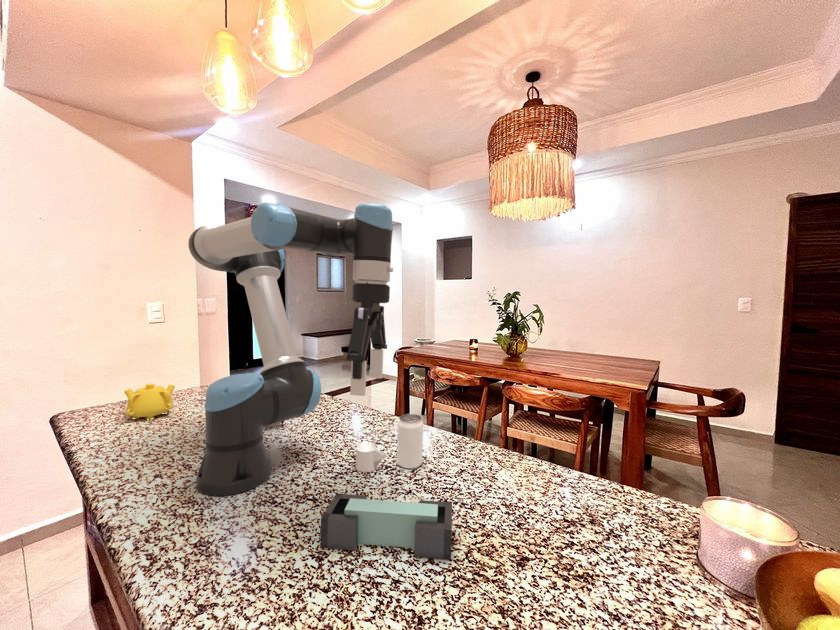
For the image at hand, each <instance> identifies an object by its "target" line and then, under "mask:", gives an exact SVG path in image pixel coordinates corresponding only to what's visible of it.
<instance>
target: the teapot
mask: <svg viewBox="0 0 840 630" xmlns="http://www.w3.org/2000/svg"><path fill="white" fill-rule="evenodd" d="M155 384H156V383H146V384H145V386H144V387H141V388H140V387H139V388H137V389H136V390H135V391H133V389H132V388H128V389H126V390H124V395H125V396H126V397H127V405H126V411H125V412H126V415H127V416H132V418H138V417H140V418H145V420H146V419H151V418H154V419H155V416H158V415H159V416H160V414H162V413H166V412H167V413H168V412H169V410H171V409H172V408H173V405H174V403H173V402H174V400H173V398H172V394H173V392H174V390H175V388H176V386H175V385H174V384H168V386H167V388H165V387H164V386H161V385H155ZM138 419H139V418H138Z"/></svg>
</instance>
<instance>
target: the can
mask: <svg viewBox="0 0 840 630" xmlns="http://www.w3.org/2000/svg"><path fill="white" fill-rule="evenodd" d="M422 419H423V418H422V416H420V415H419V414H413V413H406V414H402V415H400V416H399V420H398V423H397V442H396V443H397V444H396V445H397V448H396V450H397V451H396V453H397V454H396V455H397V457H396V459H397V461H396V464H397V465H398V466H399V467H400V468H402V469H408V470H412V469H413V470H414V469H417V468H419V467H421V465H422V464H423V445H424V444H423V441H424V438H423V436H424V423H423V420H422Z"/></svg>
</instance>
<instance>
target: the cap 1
mask: <svg viewBox="0 0 840 630" xmlns="http://www.w3.org/2000/svg"><path fill="white" fill-rule="evenodd" d="M350 498H354V499H368V495H363V494H362V495H361V494H352V493H351V494H350V493H349V494H348V493H341V492H340V493H338V492H336V493H335V495H334V497H333V498H332V499H331V501H330V503H329V504H328V506H327V507H326V510H325V511H324V513H323V514H322V516H321V518H320V548H324V549H335V550H344V551H356V550H357V547H358V545H359V544H358V516H351V515H345V508H346V506H347V504H348V502H349V500H350Z"/></svg>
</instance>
